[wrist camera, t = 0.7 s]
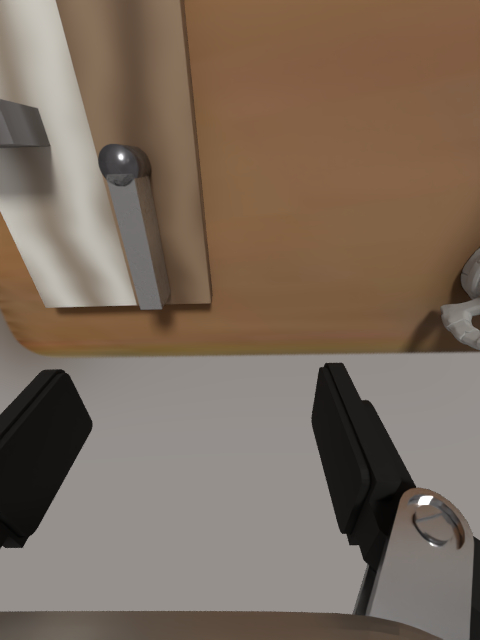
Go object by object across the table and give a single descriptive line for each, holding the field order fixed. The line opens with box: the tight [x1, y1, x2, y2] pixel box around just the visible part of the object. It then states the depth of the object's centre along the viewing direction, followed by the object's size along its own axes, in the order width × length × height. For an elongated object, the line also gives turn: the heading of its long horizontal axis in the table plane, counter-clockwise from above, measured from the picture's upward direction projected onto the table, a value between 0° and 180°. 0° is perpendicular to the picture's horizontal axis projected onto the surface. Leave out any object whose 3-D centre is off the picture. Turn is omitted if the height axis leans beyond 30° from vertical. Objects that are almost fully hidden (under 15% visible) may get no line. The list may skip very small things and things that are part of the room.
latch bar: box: [98, 144, 171, 310], centre depth 23 cm, size 13×3×4 cm, turn 2°
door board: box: [0, 0, 212, 308], centre depth 21 cm, size 18×25×6 cm
